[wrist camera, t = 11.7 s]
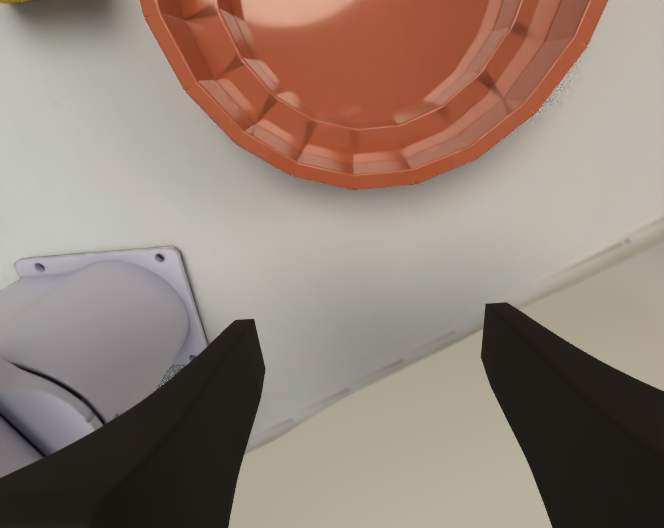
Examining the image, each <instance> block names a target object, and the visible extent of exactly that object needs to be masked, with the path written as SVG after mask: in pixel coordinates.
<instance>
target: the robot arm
mask: <svg viewBox="0 0 664 528" xmlns="http://www.w3.org/2000/svg"><path fill="white" fill-rule="evenodd" d="M158 254H162V255H163V256H164V259H161V258H160V257H159V256H158ZM40 264H42V265H43V266H44V268H43V267H42V266H41V265H40ZM15 269H16V271H17V273H18V275H19V277H20V279H19V280H17V281H15V282H14V283H12V284H11V285H9V286H8V287H6V288H4V289H3V290H1V291H0V528H228V526H229V520H230V514H231V509H232V504H233V499H234V493H235V488H236V483H237V478H238V474H239V471H240V466H241V463H242V460H243V456H244V453H245V450H246V446H247V443H248V440H249V436H250V433H251V430H252V426H253V423H254V420H255V416H256V413H257V409H258V406H259V402H260V399H261V394H262V388H263V382H264V375H265V365H264V361H263V356H262V352H261V348H260V343H259V339H258V334H257V330H256V326H255V321H254V319H245V320H235V321H234V322H233V323H231V324H230V325H229V326H228V327H227V328H226V329H225V330H224V331H223V332H222V333H221V334H220V335H219V336H218V337H217V338H216V339H215V340H214V341H213V342H211V343H210V344H209V345H207V342H206V338H205V335H204V332H203V329H202V325H201V322H200V319H199V315H198V312H197V309H196V305H195V302H194V299H193V296H192V292H191V289H190V286H189V282H188V279H187V276H186V273H185V269H184V266H183V263H182V259H181V256H180V253H179V251H178V250H177V249H176V248H174V247H170V246H167V247H154V248H142V249H130V250H117V251H105V252H93V253H80V254H68V255H56V256H43V257H31V258H22V259H20V260H18V261H16V263H15ZM192 355H194V356H196V357H193V356H192ZM481 359H482V362H483V365H484V368H485V371H486V374H487V377H488V380H489V383H490V385H491V388H492V390H493V392H494V394H495V396H496V398H497V400H498V402H499V404H500V406H501V408H502V410H503V412H504V414H505V417H506V419H507V421H508V423H509V425H510V426H511V428H512V431H513V432H514V435H515V437H516V438H517V441H518V443H519V445H520V447H521V448H522V451H523V453H524V455H525V457H526V459H527V461H528V464H529V466H530V468H531V470H532V473H533V476H534V478H535V481H536V484H537V486H538V489H539V492H540V494H541V497H542V500H543V502H544V505H545V508H546V511H547V514H548V516H549V519H550V522H551V525H552V528H664V391H661V390H659V389H657V388H655V387H652V386H650V385H648V384H646V383H644V382H641V381H639V380H637V379H635V378H633V377H631V376H629V375H627V374H625V373H623V372H621V371H619V370H617V369H615V368H613V367H611V366H609V365H607V364H605V363H603V362H601V361H600V360H598V359H596V358H594V357H593V356H591V355H589V354H587V353H586V352H584V351H582V350H580V349H578V348H577V347H575V346H574V345H572V344H570V343H569V342H567V341H565V340H564V339H562V338H560V337H559V336H557V335H556V334H554V333H553V332H551V331H550V330H548V329H547V328H545V327H543V326H542V325H540V324H539V323H537V322H536V321H534V320H533V319H531V318H530V317H528V316H527V315H525V314H524V313H522V312H521V311H519V310H518V309H516V308H515V307H513V306H512V305H510V304H508V303H491V304H486V306H485V318H484V329H483V340H482V351H481ZM171 365H186V366H185V367H184V368H183V369H182V370H180V371H179V372H178V373H177V374H176V375H175V376H173V377H172V378H171V379H170V380H169V381H167V382H166V383H165V384H164V385H162V386H161V387H160V388H158V389H157V387H158V386H159V384H160V382H161V381H162V379H163V377H164V376H165V374H166V372H167V371H168V369H169V367H170V366H171ZM156 389H157V390H156Z"/></svg>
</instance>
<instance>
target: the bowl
mask: <svg viewBox="0 0 664 528" xmlns="http://www.w3.org/2000/svg"><path fill="white" fill-rule="evenodd" d="M607 2H608V0H140V3H141V7H142V11H143V14H144V17H146V18H145V20H146V22H147V24H148V25H149V27H150V29H151V31H152V33H153V34H154V36H155V38H156V40H157V42H158V43H159V45H160V47H161V49H162V51H163V53H164V54H165V56H166V58H167V60H168V62H169V63H170V65H171V67H172V69H173V71H174V72H175V74H176V76H177V78H178V80H179V81H180V83H181V85H182V87H183V89H184V90H186V93H187V94H188V95H189V96H190V97H191V98H192V99H193V100H194V101H195V102H196V103H197V104H198V105H199V106H200V107H201V108H202V109H203V111H204V112H205V113H206V114H207V115H208V116H209V117H210V118H211V119H212V120H213V121H214V122H215V123H216V124H217V125H218V126H219V127H220V128H221V129H222V130H223V131H224V132H225V133H226V135H227V136H228V137H229V138H230V139H231V140H232V141H233V142H235V143H236V144H237V145H238V146H240V147H242V148H244V149H245V150H247V151H249V152H250V153H252V154H254V155H256V156H257V157H259V158H261V159H263V160H264V161H266V162H268V163H270V164H271V165H273V166H275V167H277V168H278V169H280V170H282V171H283V172H285V173H287V174H289V175H290V176H294V177H297V178H302V179H306V180H311V181H315V182H320V183H324V184H329V185H333V186H338V187H342V188H347V189H353V190H357V189H368V188H379V187H391V186H402V185H413V184H414V183H415V184H417V183H419V182H421V181H424V180H426V179H429V178H431V177H434V176H436V175H439V174H441V173H444V172H446V171H449V170H451V169H453V168H456V167H458V166H461V165H463V164H466V163H468V162H471V161H473V160H475V159H477V158H479V157H480V156H481V155H482V154H484V153H485V152H486V151H488V150H489V149H490V148H491V147H493V146H494V145H495V144H497V143H498V142H499V141H500V140H502V139H503V138H504V137H506V136H507V135H508V134H509V133H511V132H512V131H513V130H515V129H516V128H517V127H518V126H520V125H521V124H522V123H524V122H525V121H526V120H528V119H529V118H530V117H531V116H533V115H534V114H535V113H536V112H537V111H538V109H539V108H540V107H541V106H542V104H543V103H544V102H545V100H546V99H547V98H548V97H549V95H550V94H551V93H552V91H553V90H554V89H555V88H556V86H557V85H558V84H559V82H560V81H561V80H562V79H563V77H564V76H565V75H566V73H567V72H568V71H569V70H570V68H571V67H572V66H573V64H574V63H575V62H576V60H577V59H578V58H579V57H580V55H581V54H582V53H583V51H584V50H585V49H586V48H587V45H588V44H589V42H590V39H591V37H592V35H593V33H594V31H595V28H596V26H597V24H598V22H599V19H600V17H601V15H602V13H603V11H604V8H605V6H606V4H607Z"/></svg>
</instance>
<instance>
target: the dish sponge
mask: <svg viewBox="0 0 664 528" xmlns="http://www.w3.org/2000/svg"><path fill="white" fill-rule="evenodd" d="M27 1H34V0H0V2H2V3H7V4H12V3H19V2H27Z"/></svg>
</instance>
